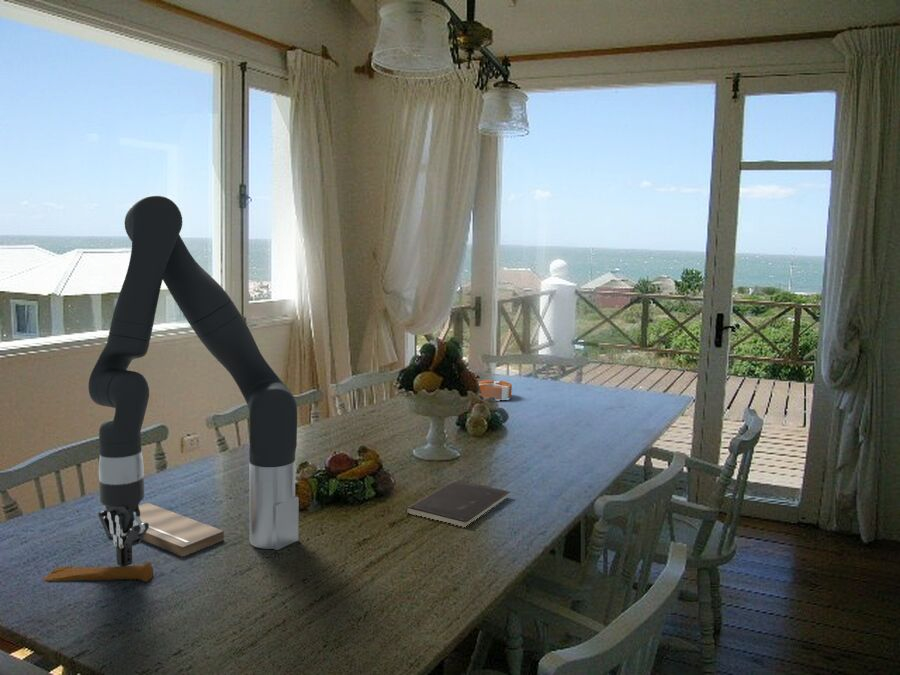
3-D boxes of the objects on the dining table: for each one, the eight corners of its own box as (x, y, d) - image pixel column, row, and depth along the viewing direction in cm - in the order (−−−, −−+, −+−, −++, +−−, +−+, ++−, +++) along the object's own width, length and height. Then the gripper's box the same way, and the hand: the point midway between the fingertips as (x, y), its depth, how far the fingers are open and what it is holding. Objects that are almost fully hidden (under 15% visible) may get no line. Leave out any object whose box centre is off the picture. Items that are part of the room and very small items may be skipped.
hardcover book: (509, 500, 180) (509, 491, 180) (465, 531, 160) (466, 521, 160) (453, 487, 188) (453, 479, 187) (405, 515, 168) (405, 506, 167)
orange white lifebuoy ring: (467, 397, 294) (493, 393, 303) (493, 404, 283) (519, 399, 292) (468, 380, 293) (494, 376, 303) (494, 386, 282) (520, 383, 291)
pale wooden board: (223, 540, 150) (223, 530, 149) (182, 556, 141) (182, 546, 141) (147, 511, 164) (147, 502, 163) (105, 524, 155) (105, 515, 155)
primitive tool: (40, 584, 130) (39, 565, 129) (55, 570, 135) (55, 552, 135) (148, 586, 130) (147, 568, 130) (159, 572, 136) (159, 554, 135)
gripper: (161, 478, 132) (163, 567, 135) (119, 463, 140) (122, 548, 142) (123, 489, 126) (126, 582, 129) (82, 473, 133) (85, 562, 136)
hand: (124, 564), depth 135 cm, fingers closed
